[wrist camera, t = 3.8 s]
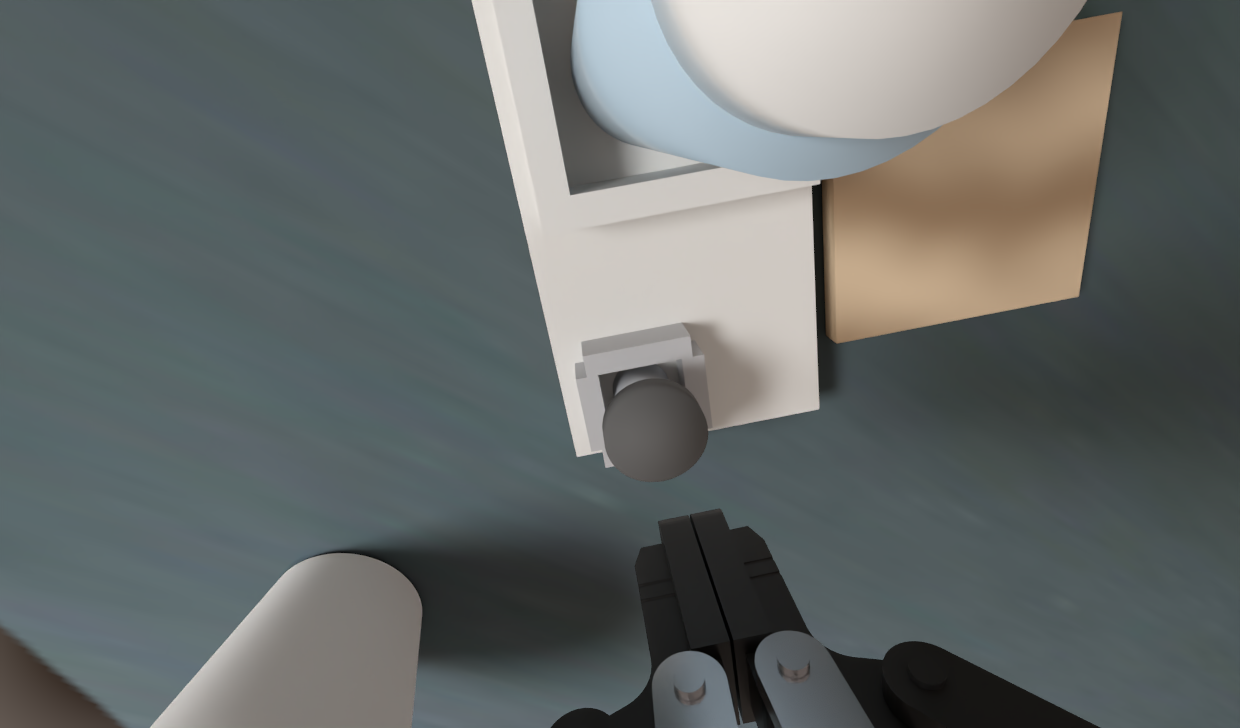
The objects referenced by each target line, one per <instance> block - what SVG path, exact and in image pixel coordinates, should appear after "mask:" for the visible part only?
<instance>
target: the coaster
mask: <svg viewBox="0 0 1240 728" xmlns="http://www.w3.org/2000/svg"><path fill="white" fill-rule="evenodd" d="M1121 18H1122V12H1118V13H1112V14H1107V15H1101V16H1096V17H1090V18H1085V19H1079V20H1074V21H1072V22H1071V24H1070V25H1069V26H1068V28H1067V29H1066V30H1065V32H1064V33H1063V34H1062V35H1061V37H1060V38H1059V39H1058V40H1057V42H1056V43H1055V44H1054V45H1053V46H1052V47H1051V48H1050V49H1049V50H1048V51H1047V52H1046V53H1045V55H1044V56H1043V57H1042V58H1041V59H1040V60H1039V61H1038V62H1037V63H1036V64H1035V65H1034V66H1033V67H1032V68H1031V69H1030V70H1028V71H1027V72H1026V73H1025V74H1024V75H1023V76H1022V77H1020V78H1019V79H1018V80H1017V81H1016V82H1015V83H1014V84H1013V85H1011V86H1010V87H1009V88H1007V89H1006V90H1004V91H1003V92H1002V93H1000V94H999V95H997V96H996V97H995V98H993V99H992V100H990V101H989V102H988V103H986V104H985V105H983V106H981V107H979V108H977V109H975V110H974V111H972V112H970V113H968V114H966V115H965V116H963V117H961V118H959V119H957V120H954V121H952V122H949V123H947V124H944V125H942V126H941V127H940V128H939V129H938V130H937V131H935V132H934V133H932V134H931V135H929V136H928V137H927V138H925V139H924V140H922V141H921V142H920V143H918V144H917V145H915V146H914V147H912V148H911V149H909V150H907V151H905V152H903V153H902V154H900V155H898V156H896V157H894V158H892V159H891V160H889V161H887V162H884V163H882V164H879V165H877V166H874V167H872V168H869V169H867V170H864V171H861V172H857V173H854V174H850V175H846V176H842V177H838V178H832V179H823V180H822V209H823V246H824V282H825V319H826V336H828V337H829V338H830V339H831V340H833V341H834V342H835V343H842V342H847V341H853V340H858V339H863V338H868V337H873V336H878V335H883V334H889V333H894V332H899V331H904V330H909V329H914V328H919V327H925V326H930V325H935V324H940V323H945V322H950V321H955V320H961V319H966V318H971V317H976V316H981V315H986V314H991V313H997V312H1002V311H1007V310H1012V309H1017V308H1022V307H1027V306H1033V305H1038V304H1043V303H1048V302H1053V301H1058V300H1063V299H1069V298H1074V297H1079V291H1080V284H1081V278H1082V271H1083V265H1084V258H1085V252H1086V245H1087V239H1088V232H1089V226H1090V219H1091V213H1092V206H1093V200H1094V193H1095V187H1096V180H1097V174H1098V167H1099V161H1100V154H1101V148H1102V141H1103V135H1104V128H1105V122H1106V115H1107V109H1108V102H1109V96H1110V89H1111V83H1112V76H1113V70H1114V63H1115V57H1116V50H1117V44H1118V37H1119V31H1120V24H1121Z"/></svg>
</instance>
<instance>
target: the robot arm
mask: <svg viewBox="0 0 1240 728" xmlns="http://www.w3.org/2000/svg"><path fill="white" fill-rule="evenodd" d="M658 524H659V530H660V536H661V542H662V544H658V545H653V546H648V547H643V548H641V549H640V552H639V555H638V558H637V561H636V564H635V569H636V575H637V581H638V586H639V592H640V598H641V603H642V610H643V615H644V621H645V627H646V633H647V638H648V644H649V650H650V656H651V663H652V668H651V675H650V679H649V681H648V683H647V685H646V687H645V689H644V690H643V692H642V693H641V694H640V695H639V696H638V697H637V698H636V699H635V700H634V701H633V702H631V703H630V704H628V705H627V706H625V707H623V708H622V709H620V710H618V711H617V712H615V713H613V714H611V715H610V716H609V715H608V714H606V713H605V712H603V711H601V710H598V709H593V708H581V709H577V710H574V711H571V712H569V713H567V714H565V715H564V716H562V717H561V718H559V719H558V720H557V721H556V722H555V723H554V724H553V726H552V727H551V728H738V726H737V725H740V719H739V711H740V714H741V717H742V721H743V724H744V723H749V722H753V721H756V723H757V726H758V728H1100V727H1098V726H1096V725H1094V724H1092V723H1090V722H1088V721H1086V720H1084V719H1082V718H1080V717H1078V716H1076V715H1074V714H1072V713H1070V712H1068V711H1066V710H1064V709H1062V708H1060V707H1058V706H1056V705H1054V704H1052V703H1050V702H1048V701H1046V700H1044V699H1042V698H1040V697H1038V696H1036V695H1034V694H1032V693H1030V692H1028V691H1026V690H1024V689H1022V688H1020V687H1018V686H1016V685H1014V684H1012V683H1010V682H1008V681H1006V680H1004V679H1002V678H1000V677H998V676H996V675H994V674H992V673H990V672H988V671H986V670H984V669H982V668H980V667H978V666H976V665H974V664H972V663H970V662H968V661H966V660H964V659H962V658H960V657H958V656H956V655H954V654H952V653H950V652H948V651H946V650H944V649H942V648H940V647H938V646H935V645H932V644H929V643H925V642H917V641H911V642H904V643H900V644H898V645H895V646H894V647H892V648H891V649H890V650H889V651H888V652H887V653H886V655H885V657H884V659H883V660H877V659H867V658H856V657H850V656H845V655H842V654H839V653H836V652H834V651H831V650H830V649H828V648H826V647H825V646H823V645H822V644H821V643H820V642H819V641H818V640H816V639H815V638H814V637H813V636H812V635H811V633H810V632H809V630H808V629H807V627H806V625H805V623H804V621H803V619H802V617H801V615H800V613H799V610H798V608H797V606H796V604H795V602H794V600H793V598H792V596H791V594H790V592H789V590H788V588H787V586H786V584H785V582H784V580H783V578H782V576H781V575H780V573H779V570H778V568H777V565H776V563H775V561H774V560H773V558H772V555H771V553H770V551H769V549H768V547H767V545H766V543H765V541H764V539H763V538H761V537H760V536H759V535H758V534H757V533H755V532H754V531H753V530H752V529H751V528H749V527H748V526H746V527H741V528H736V529H731V530H730V529H729V527H728V524H727V522H726V520H725V517H724V515H723V513H722V511H721V509H715V510H710V511H705V512H701V513H696V514H691V515H690V519H689V516H688V515H686V516H681V517H676V518H671V519H667V520H662V521H658ZM738 708H739V711H738Z"/></svg>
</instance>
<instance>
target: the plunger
mask: <svg viewBox="0 0 1240 728" xmlns="http://www.w3.org/2000/svg"><path fill="white" fill-rule="evenodd" d="M613 396H614V397H613V399H612V400H611V401H610V403H609V404H608V406H607V408H606V410H605V413H604V416H603V422H602V430H603V437H604V444H605V449H606V453H607V455H608V457H609V459H610V461H611V462H612V464H613V465H614V466H615V467H616V468H617V469H618V470H619V471H620V472H621V473H623V474H625V475H626V476H628V477H630V478H633V479H636V480H639V481H645V482H659V481H665V480H669V479H672V478H675V477H677V476H679V475H681V474H683V473H684V472H686V471H687V470H689V469H690V468H691V467H692V466H693V465H694V464H695V463H696V462H697V461H698V460H699V458H700V457H701V455H702V453H703V452H704V449H705V447H706V444H707V440H708V425H707V421H706V418H705V415H704V413H703V411H702V409H701V407H700V405H699V403H698V402H697V400H696V398H695V397H694V395H693V394H692V393H691V392H690V391H689V390H688V389H687V388H685V387H684V386H682V385H681V384H679V383H677V382H674V381H671V380H669V379H668V377H667V375H666V373H665V371H664V370H663V369H662V368H661V367H660V366H658V365H657V364H653V365H648V366H643V367H638V368H633V369H628V370H622V371H619V372H618V373H617V375H616V377H615V379H614V382H613Z"/></svg>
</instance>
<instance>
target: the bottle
mask: <svg viewBox="0 0 1240 728" xmlns="http://www.w3.org/2000/svg"><path fill="white" fill-rule="evenodd" d="M1086 1H1087V0H577V5H576V12H575V20H574V27H573V34H572V42H571V50H570V65H571V74H572V79H573V83H574V87H575V90H576V92H577V95H578V98H579V100H580V102H581V104H582V106H583V108H584V109H585V111H586V112H587V114H588V115H589V116H590V118H591V119H592V120H593V121H594V122H595V123H596V124H597V125H598V126H599V127H600V128H601V129H602V130H603V131H604V132H606V133H607V134H609V135H610V136H612V137H613V138H615V139H617V140H620V141H622V142H624V143H627V144H630V145H634V146H638V147H642V148H646V149H650V150H654V151H658V152H662V153H666V154H670V155H674V156H678V157H683V158H687V159H691V160H695V161H699V162H703V163H707V164H711V165H715V166H719V167H723V168H727V169H731V170H735V171H739V172H743V173H747V174H751V175H755V176H760V177H766V178H772V179H778V180H784V181H815V180H823V179H832V178H838V177H842V176H846V175H850V174H854V173H857V172H861V171H864V170H867V169H869V168H872V167H874V166H877V165H879V164H882V163H884V162H887V161H889V160H891V159H892V158H894V157H896V156H898V155H900V154H902V153H903V152H905V151H907V150H909V149H911V148H912V147H914V146H915V145H917V144H918V143H920V142H921V141H922V140H924V139H925V138H927V137H928V136H929V135H931V134H932V133H934V132H935V131H937V130H938V129H939V128H940V127H941V126H942V125H944V124H947V123H949V122H952V121H954V120H957V119H959V118H961V117H963V116H965V115H966V114H968V113H970V112H972V111H974V110H975V109H977V108H979V107H981V106H983V105H985V104H986V103H988V102H989V101H990V100H992V99H993V98H995V97H996V96H997V95H999V94H1000V93H1002V92H1003V91H1004V90H1006V89H1007V88H1009V87H1010V86H1011V85H1013V84H1014V83H1015V82H1016V81H1017V80H1018V79H1019V78H1020V77H1022V76H1023V75H1024V74H1025V73H1026V72H1027V71H1028V70H1030V69H1031V68H1032V67H1033V66H1034V65H1035V64H1036V63H1037V62H1038V61H1039V60H1040V59H1041V58H1042V57H1043V56H1044V55H1045V53H1046V52H1047V51H1048V50H1049V49H1050V48H1051V47H1052V46H1053V45H1054V44H1055V43H1056V42H1057V40H1058V39H1059V38H1060V37H1061V35H1062V34H1063V33H1064V32H1065V30H1066V29H1067V28H1068V26H1069V25H1070V24H1071V22H1072V21H1073V20H1074V18H1075V17H1076V16H1077V14H1078V13H1079V12H1080V10H1081V9H1082V7H1083V6H1084V4H1085V2H1086Z"/></svg>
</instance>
